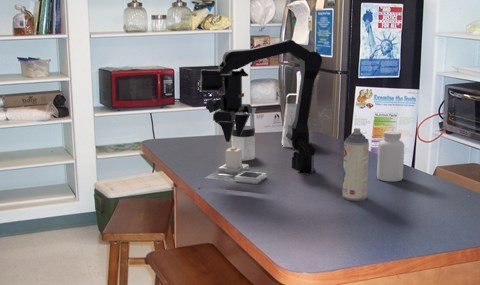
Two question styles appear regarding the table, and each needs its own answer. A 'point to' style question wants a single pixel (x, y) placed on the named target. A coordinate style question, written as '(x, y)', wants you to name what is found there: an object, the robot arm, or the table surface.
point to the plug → (234, 158)
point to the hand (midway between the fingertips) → (233, 138)
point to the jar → (245, 142)
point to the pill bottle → (390, 157)
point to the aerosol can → (355, 167)
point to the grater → (288, 120)
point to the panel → (240, 174)
